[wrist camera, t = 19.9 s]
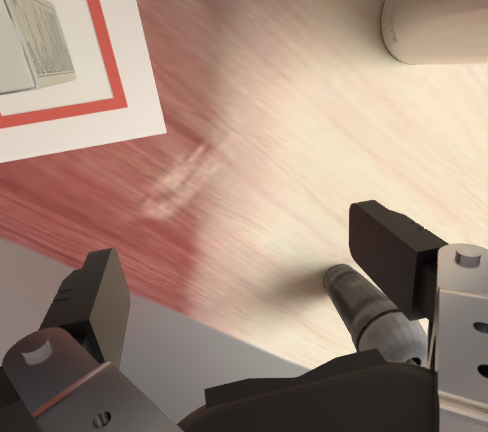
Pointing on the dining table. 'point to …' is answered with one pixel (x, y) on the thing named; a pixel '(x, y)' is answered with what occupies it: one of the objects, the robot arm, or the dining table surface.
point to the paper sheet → (88, 87)
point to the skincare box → (32, 47)
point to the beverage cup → (374, 318)
